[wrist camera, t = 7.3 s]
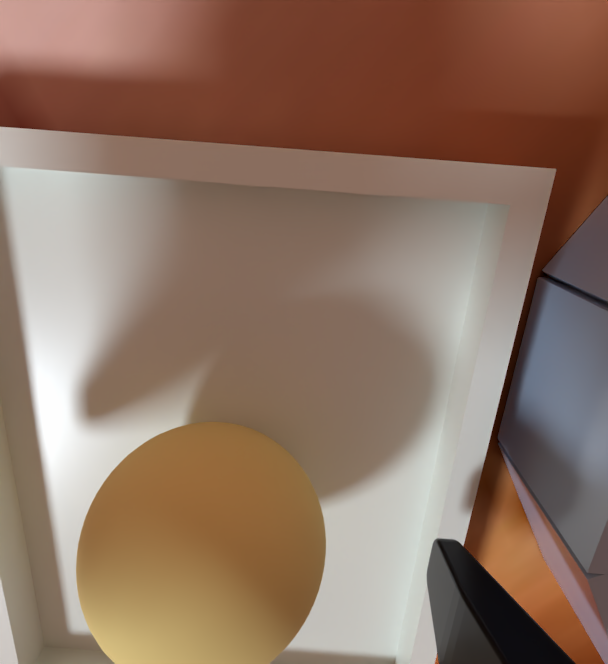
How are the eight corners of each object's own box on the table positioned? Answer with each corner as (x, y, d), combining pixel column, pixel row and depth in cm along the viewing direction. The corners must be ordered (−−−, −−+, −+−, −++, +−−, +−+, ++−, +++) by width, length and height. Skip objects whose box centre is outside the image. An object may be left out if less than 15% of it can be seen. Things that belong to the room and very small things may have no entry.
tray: (406, 667, 13) (417, 730, 12) (37, 639, 13) (3, 698, 12) (515, 168, 9) (556, 168, 7) (-56, 125, 9) (-134, 116, 7)
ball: (307, 541, 11) (329, 752, 7) (127, 542, 11) (44, 766, 7) (321, 385, 10) (359, 540, 6) (114, 379, 10) (-2, 542, 5)
